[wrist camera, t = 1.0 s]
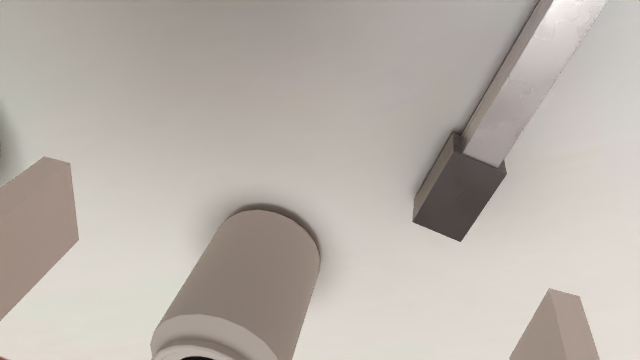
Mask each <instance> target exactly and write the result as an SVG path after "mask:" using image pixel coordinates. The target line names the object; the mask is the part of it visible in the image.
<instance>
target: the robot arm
mask: <svg viewBox="0 0 640 360" xmlns="http://www.w3.org/2000/svg"><path fill="white" fill-rule="evenodd" d="M78 240H79V236H78V228H77V219H76V210H75V202H74V193H73V185H72V176H71V168H70V163H67V162H63V161H59V160H55V159H52V158H48V157H43V158H42V159H40V160H39V161H37V162H36V163H35V164H33V165H32V166H31V167H29V168H28V169H26V170H25V171H24V172H22V173H21V174H20V175H18V176H17V177H16V178H14V179H13V180H11V181H10V182H9V183H7V184H6V185H5V186H3V187H2V188H0V321H1V320H2V319H3V318H4V317H5V315H6V314H7V313H8V312H9V311H10V310H11V309H12V308H13V307H14V306H15V305H16V304H17V303H18V302H19V301H20V300H21V299H22V298H23V297H24V296H25V295H26V294H27V293H28V292H29V291H30V290H31V289H32V288H33V287H34V286H35V285H36V284H37V283H38V281H39V280H40V279H41V278H42V277H43V276H44V275H45V274H46V273H47V272H48V271H49V270H50V269H51V268H52V267H53V266H54V265H55V264H56V263H57V262H58V261H59V260H60V259H61V258H62V257H63V256H64V255H65V254H66V253H67V252H68V251H69V250H70V249H71V247H72V246H73V245H74V244H75V243H76V242H77V241H78ZM510 360H600V359H599V356H598V353H597V350H596V346H595V343H594V340H593V337H592V334H591V331H590V328H589V325H588V321H587V318H586V315H585V312H584V309H583V306H582V303H581V300H580V297H579V296H576V295H572V294H569V293H565V292H561V291H557V290H553V289H549V290H548V291H547V293H546V295H545V297H544V298H543V300H542V302H541V304H540V305H539V307H538V309H537V311H536V312H535V314H534V316H533V318H532V319H531V321H530V323H529V325H528V326H527V328H526V330H525V331H524V333H523V335H522V337H521V338H520V340H519V342H518V344H517V345H516V347H515V349H514V351H513V352H512V354H511V356H510Z"/></svg>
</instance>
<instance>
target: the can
mask: <svg viewBox="0 0 640 360" xmlns="http://www.w3.org/2000/svg"><path fill="white" fill-rule="evenodd" d="M319 266H320V256H319V253H318V250H317V247H316V244H315V242H314V241H313V240H312V238H311V237H310V235H309V234H308V233H307V231H306V230H305V229H303V228H302V227H301V226H299V225H298V224H297V223H296V222H294V221H293V220H292V219H289V218H287V217H285V216H282V215H280V214H278V213H276V212H270V211H264V210H250V211H242V212H239V213H237V214H235V215H233V216H231V217H229V218H228V219H227V220H226V221H225V222H224V223H223V224H222V225H221V226H220V227H219V229H218V230H217V232H216V234H215V235H214V237H213V238H212V240H211V242H210V243H209V245H208V246H207V248H206V250H205V251H204V253H203V254H202V256H201V258H200V259H199V261H198V262H197V264H196V266H195V267H194V269H193V270H192V272H191V274H190V275H189V277H188V278H187V280H186V281H185V283H184V285H183V286H182V288H181V289H180V291H179V293H178V294H177V296H176V297H175V299H174V301H173V302H172V304H171V305H170V307H169V309H168V310H167V312H166V313H165V315H164V317H163V318H162V320H161V321H160V323H159V325H158V326H157V328H156V329H155V331H154V334H153V337H152V341H151V344H150V346H151V351H152V357H153V358H152V359H151V360H292V357H293V354H294V351H295V347H296V344H297V341H298V338H299V334H300V331H301V328H302V325H303V322H304V318H305V315H306V312H307V309H308V305H309V302H310V299H311V296H312V292H313V289H314V286H315V283H316V280H317V276H318V273H319Z"/></svg>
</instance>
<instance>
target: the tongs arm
mask: <svg viewBox="0 0 640 360" xmlns="http://www.w3.org/2000/svg"><path fill="white" fill-rule="evenodd" d="M607 1H608V0H540V1H539V3H538V4H537V6H536V8H535V9H534V11H533V13H532V15H531V16H530V18H529V20H528V21H527V23H526V25H525V27H524V28H523V30H522V32H521V33H520V35H519V37H518V39H517V40H516V42H515V44H514V45H513V47H512V49H511V51H510V52H509V54H508V56H507V57H506V59H505V61H504V63H503V64H502V66H501V68H500V69H499V71H498V73H497V75H496V76H495V78H494V80H493V81H492V83H491V85H490V87H489V88H488V90H487V92H486V93H485V95H484V97H483V99H482V100H481V102H480V104H479V105H478V107H477V109H476V111H475V112H474V114H473V116H472V117H471V119H470V121H469V123H468V124H467V126H466V128H465V129H464V131H463V133H462V135H459V134H457V133H455V132H452V134H451V136H450V138H449V139H448V141H447V143H446V145H445V146H444V148H443V150H442V152H441V153H440V155H439V157H438V159H437V160H436V162H435V164H434V166H433V167H432V169H431V171H430V173H429V174H428V176H427V178H426V180H425V182H424V183H423V185H422V187H421V189H420V190H419V192H418V194H417V196H416V197H415V199H414V209H413V220H412V222H414V223H416V224H419V225H421V226H423V227H426V228H428V229H431V230H433V231H435V232H438V233H440V234H443V235H445V236H447V237H450V238H452V239H455V240H457V241H459V242H461V241H462V239H463V238H464V237H465V235H466V234H467V232H468V231H469V229H470V228H471V226H472V225H473V223H474V222H475V220H476V219H477V217H478V216H479V214H480V213H481V211H482V210H483V208H484V207H485V205H486V204H487V202H488V201H489V200H490V198H491V197H492V195H493V194H494V192H495V191H496V189H497V188H498V186H499V185H500V183H501V182H502V180H503V179H504V177H505V176H506V174H507V172H506V168H505V163H504V158H505V156H506V155H507V153H508V152H509V150H510V149H511V147H512V146H513V144H514V143H515V141H516V140H517V138H518V137H519V135H520V133H521V132H522V130H523V129H524V127H525V126H526V124H527V123H528V121H529V120H530V118H531V117H532V115H533V114H534V112H535V111H536V109H537V108H538V106H539V105H540V103H541V102H542V100H543V99H544V97H545V96H546V94H547V92H548V91H549V89H550V88H551V86H552V85H553V83H554V82H555V80H556V79H557V77H558V76H559V74H560V73H561V71H562V70H563V68H564V67H565V65H566V64H567V62H568V61H569V59H570V58H571V56H572V54H573V53H574V51H575V50H576V48H577V47H578V45H579V44H580V42H581V41H582V39H583V38H584V36H585V35H586V33H587V32H588V30H589V29H590V27H591V26H592V24H593V23H594V21H595V20H596V18H597V17H598V15H599V13H600V12H601V10H602V9H603V7H604V6H605V4H606V3H607Z"/></svg>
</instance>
